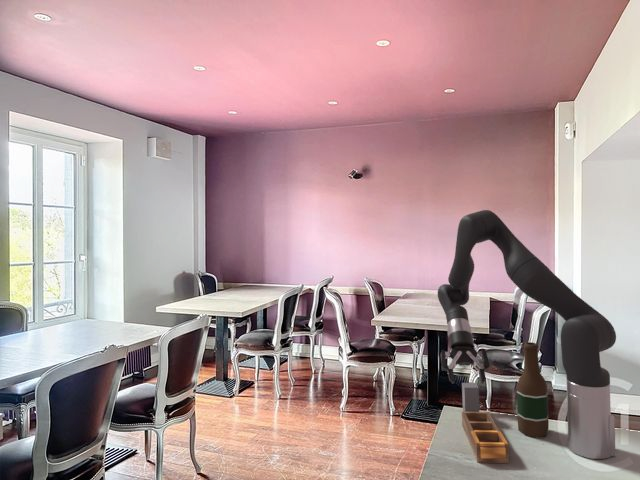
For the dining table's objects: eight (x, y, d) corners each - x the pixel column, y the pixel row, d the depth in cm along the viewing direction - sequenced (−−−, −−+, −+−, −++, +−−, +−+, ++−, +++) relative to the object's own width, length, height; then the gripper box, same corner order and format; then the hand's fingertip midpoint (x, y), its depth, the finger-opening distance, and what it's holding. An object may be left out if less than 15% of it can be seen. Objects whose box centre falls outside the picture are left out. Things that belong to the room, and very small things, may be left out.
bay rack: (488, 426, 129) (488, 410, 129) (509, 464, 109) (508, 445, 108) (462, 425, 130) (461, 409, 130) (477, 463, 109) (477, 444, 109)
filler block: (476, 414, 137) (475, 382, 137) (479, 420, 133) (478, 387, 133) (462, 414, 138) (461, 382, 137) (465, 419, 134) (464, 387, 133)
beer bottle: (553, 439, 120) (550, 347, 119) (521, 437, 122) (518, 347, 121) (544, 426, 128) (542, 339, 127) (514, 424, 129) (512, 339, 128)
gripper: (438, 329, 148) (444, 376, 137) (484, 329, 147) (494, 376, 135) (437, 341, 154) (442, 388, 143) (481, 341, 152) (490, 388, 141)
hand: (467, 382), depth 139 cm, fingers open, 8 cm apart
